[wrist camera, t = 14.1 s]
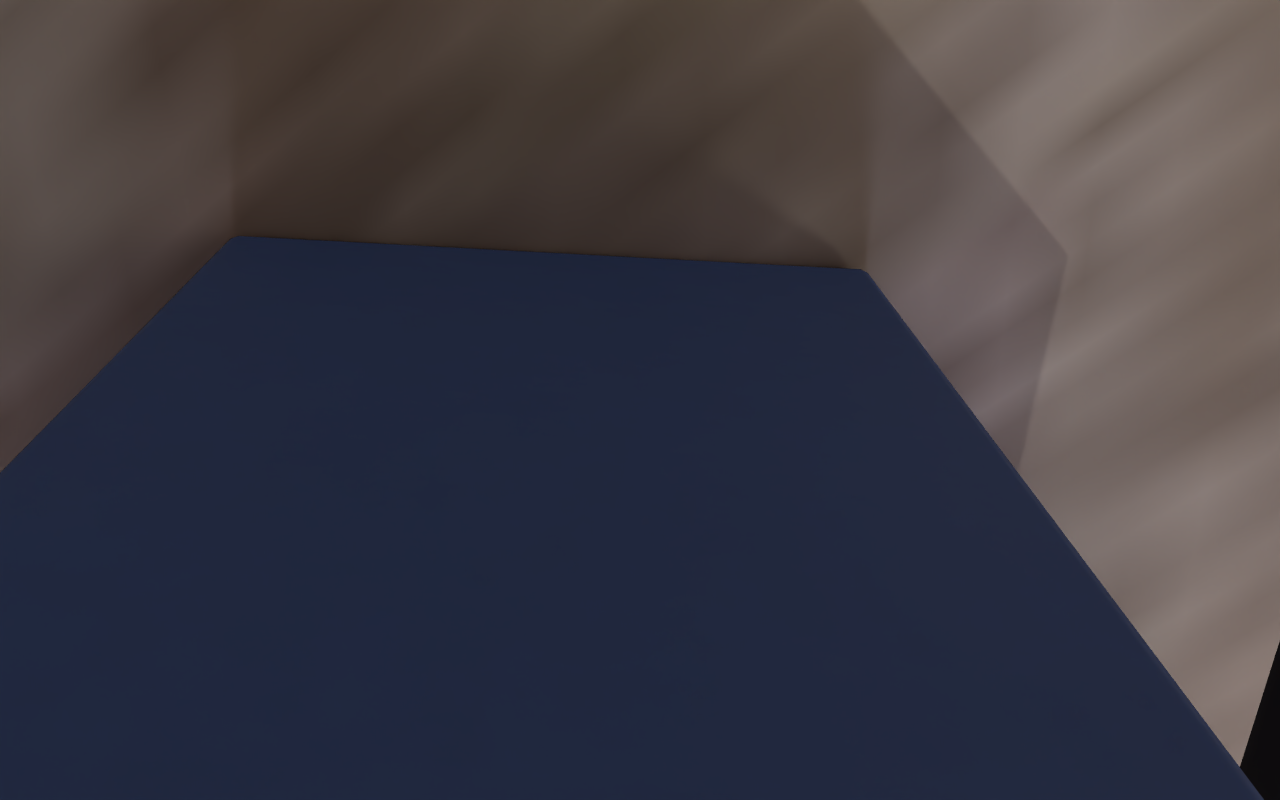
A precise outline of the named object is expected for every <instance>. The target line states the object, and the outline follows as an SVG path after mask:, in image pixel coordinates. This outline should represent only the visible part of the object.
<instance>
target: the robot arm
mask: <svg viewBox="0 0 1280 800" xmlns="http://www.w3.org/2000/svg"><path fill="white" fill-rule="evenodd" d="M1240 768H1241V770H1242V771H1243V772H1244V774H1245V775H1246V776H1247V778H1248V779H1249V780H1250V782H1251V783H1252V784H1253V786H1254V787H1255V788H1256V790H1257V791H1258V792H1259V794H1260V795H1261V796H1262V798H1263V799H1264V800H1280V642H1279V645H1278V648H1277V652H1276V655H1275V658H1274V661H1273V664H1272V667H1271V670H1270V674H1269V677H1268V680H1267V683H1266V686H1265V689H1264V693H1263V696H1262V699H1261V702H1260V705H1259V708H1258V712H1257V715H1256V718H1255V721H1254V724H1253V727H1252V731H1251V734H1250V737H1249V740H1248V743H1247V746H1246V750H1245V753H1244V756H1243V759H1242V762H1241V765H1240Z"/></svg>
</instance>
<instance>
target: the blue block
mask: <svg viewBox="0 0 1280 800" xmlns="http://www.w3.org/2000/svg"><path fill="white" fill-rule="evenodd" d="M0 800H1264V799H1263V798H1262V796H1261V795H1260V794H1259V792H1258V791H1257V790H1256V788H1255V787H1254V786H1253V784H1252V783H1251V782H1250V780H1249V779H1248V778H1247V776H1246V775H1245V774H1244V772H1243V771H1242V770H1241V768H1240V767H1239V766H1238V764H1237V763H1236V762H1235V761H1234V759H1233V758H1232V757H1231V755H1230V754H1229V753H1228V751H1227V750H1226V749H1225V747H1224V746H1223V745H1222V743H1221V742H1220V741H1219V739H1218V738H1217V737H1216V735H1215V734H1214V733H1213V731H1212V730H1211V729H1210V727H1209V726H1208V725H1207V723H1206V722H1205V721H1204V719H1203V718H1202V717H1201V715H1200V714H1199V713H1198V711H1197V710H1196V709H1195V707H1194V706H1193V705H1192V703H1191V702H1190V701H1189V699H1188V698H1187V697H1186V695H1185V694H1184V693H1183V691H1182V690H1181V689H1180V687H1179V686H1178V685H1177V683H1176V682H1175V681H1174V679H1173V678H1172V677H1171V675H1170V674H1169V673H1168V671H1167V670H1166V669H1165V668H1164V666H1163V665H1162V664H1161V662H1160V661H1159V660H1158V658H1157V657H1156V656H1155V654H1154V653H1153V652H1152V650H1151V649H1150V648H1149V646H1148V645H1147V644H1146V642H1145V641H1144V640H1143V638H1142V637H1141V636H1140V634H1139V633H1138V632H1137V630H1136V629H1135V628H1134V626H1133V625H1132V624H1131V622H1130V621H1129V620H1128V618H1127V617H1126V616H1125V614H1124V613H1123V612H1122V610H1121V609H1120V608H1119V606H1118V605H1117V604H1116V602H1115V601H1114V600H1113V598H1112V597H1111V596H1110V594H1109V593H1108V592H1107V590H1106V589H1105V588H1104V586H1103V585H1102V584H1101V582H1100V581H1099V580H1098V578H1097V577H1096V576H1095V574H1094V573H1093V572H1092V571H1091V569H1090V568H1089V567H1088V565H1087V564H1086V563H1085V561H1084V560H1083V559H1082V557H1081V556H1080V555H1079V553H1078V552H1077V551H1076V549H1075V548H1074V547H1073V545H1072V544H1071V543H1070V541H1069V540H1068V539H1067V537H1066V536H1065V535H1064V533H1063V532H1062V531H1061V529H1060V528H1059V527H1058V525H1057V524H1056V523H1055V521H1054V520H1053V519H1052V517H1051V516H1050V515H1049V513H1048V512H1047V511H1046V509H1045V508H1044V507H1043V505H1042V504H1041V503H1040V501H1039V500H1038V499H1037V497H1036V496H1035V495H1034V493H1033V492H1032V491H1031V489H1030V488H1029V487H1028V485H1027V484H1026V483H1025V481H1024V480H1023V479H1022V477H1021V476H1020V475H1019V474H1018V472H1017V471H1016V470H1015V468H1014V467H1013V466H1012V464H1011V463H1010V462H1009V460H1008V459H1007V458H1006V456H1005V455H1004V454H1003V452H1002V451H1001V450H1000V448H999V447H998V446H997V444H996V443H995V442H994V440H993V439H992V438H991V436H990V435H989V434H988V432H987V431H986V430H985V428H984V427H983V426H982V424H981V423H980V422H979V420H978V419H977V418H976V416H975V415H974V414H973V412H972V411H971V410H970V408H969V407H968V406H967V404H966V403H965V402H964V400H963V399H962V398H961V396H960V395H959V394H958V392H957V391H956V390H955V388H954V387H953V386H952V384H951V383H950V382H949V380H948V379H947V378H946V377H945V375H944V374H943V373H942V371H941V370H940V369H939V367H938V366H937V365H936V363H935V362H934V361H933V359H932V358H931V357H930V355H929V354H928V353H927V351H926V350H925V349H924V347H923V346H922V345H921V343H920V342H919V341H918V339H917V338H916V337H915V335H914V334H913V333H912V331H911V330H910V329H909V327H908V326H907V325H906V323H905V322H904V321H903V319H902V318H901V317H900V315H899V314H898V313H897V311H896V310H895V309H894V307H893V306H892V305H891V303H890V302H889V301H888V299H887V298H886V297H885V295H884V294H883V293H882V291H881V290H880V289H879V287H878V286H877V285H876V284H875V282H874V281H873V280H872V278H871V277H870V276H869V274H868V273H867V272H865V271H863V270H861V269H842V268H823V267H805V266H786V265H768V264H749V263H730V262H712V261H693V260H675V259H656V258H637V257H619V256H600V255H582V254H563V253H544V252H526V251H507V250H488V249H470V248H451V247H433V246H414V245H395V244H377V243H358V242H340V241H321V240H302V239H284V238H265V237H247V236H237V237H234V238H231V239H230V240H229V241H228V242H227V243H226V244H225V245H224V246H223V247H222V248H221V249H220V250H219V251H218V252H217V253H216V254H215V255H214V256H213V257H212V258H211V259H210V260H209V261H208V262H207V263H206V264H205V265H204V266H203V267H202V268H201V269H200V270H199V271H198V272H197V273H196V274H195V275H194V276H193V277H192V278H191V279H190V280H189V281H188V282H187V283H186V285H185V286H184V287H183V288H182V289H181V290H180V291H179V292H178V293H177V294H176V295H175V296H174V297H173V298H172V299H171V300H170V301H169V302H168V303H167V304H166V305H165V306H164V307H163V308H162V309H161V310H160V311H159V312H158V313H157V314H156V315H155V316H154V317H153V318H152V319H151V320H150V321H149V322H148V323H147V324H146V325H145V326H144V327H143V328H142V329H141V330H140V331H139V332H138V333H137V334H136V335H135V336H134V337H133V338H132V339H131V340H130V341H129V342H128V343H127V344H126V346H125V347H124V348H123V349H122V350H121V351H120V352H119V353H118V354H117V355H116V356H115V357H114V358H113V359H112V360H111V361H110V362H109V363H108V364H107V365H106V366H105V367H104V368H103V369H102V370H101V371H100V372H99V373H98V374H97V375H96V376H95V377H94V378H93V379H92V380H91V381H90V382H89V383H88V384H87V385H86V386H85V387H84V388H83V389H82V390H81V391H80V392H79V393H78V394H77V395H76V396H75V397H74V398H73V399H72V400H71V401H70V402H69V403H68V404H67V405H66V407H65V408H64V409H63V410H62V411H61V412H60V413H59V414H58V415H57V416H56V417H55V418H54V419H53V420H52V421H51V422H50V423H49V424H48V425H47V426H46V427H45V428H44V429H43V430H42V431H41V432H40V433H39V434H38V435H37V436H36V437H35V438H34V439H33V440H32V441H31V442H30V443H29V444H28V445H27V446H26V447H25V448H24V449H23V450H22V451H21V452H20V453H19V454H18V455H17V456H16V457H15V458H14V459H13V460H12V461H11V462H10V463H9V464H8V465H7V466H6V468H5V469H4V470H3V471H2V472H1V473H0Z"/></svg>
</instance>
